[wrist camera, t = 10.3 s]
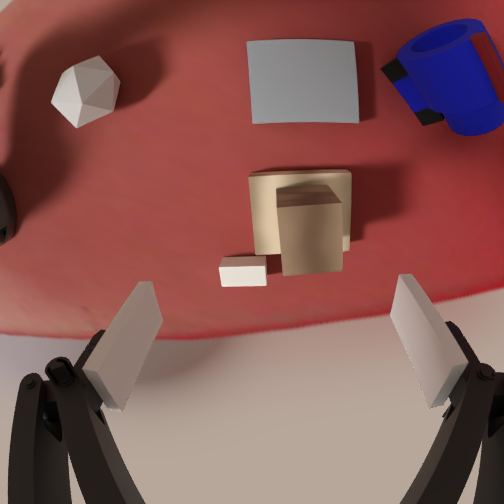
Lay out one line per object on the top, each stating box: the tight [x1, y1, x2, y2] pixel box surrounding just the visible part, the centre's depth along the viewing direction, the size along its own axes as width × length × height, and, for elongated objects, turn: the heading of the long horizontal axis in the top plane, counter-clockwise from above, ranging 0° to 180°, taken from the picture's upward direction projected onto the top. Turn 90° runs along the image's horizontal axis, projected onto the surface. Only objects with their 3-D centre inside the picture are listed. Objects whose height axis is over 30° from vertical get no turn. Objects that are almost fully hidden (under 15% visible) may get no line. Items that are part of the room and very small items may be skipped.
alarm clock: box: [381, 19, 504, 136], centre depth 20 cm, size 12×12×15 cm
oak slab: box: [248, 169, 352, 255], centre depth 36 cm, size 12×10×3 cm
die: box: [51, 56, 121, 128], centre depth 28 cm, size 8×9×10 cm
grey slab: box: [247, 39, 359, 124], centre depth 29 cm, size 12×10×3 cm
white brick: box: [219, 256, 267, 287], centre depth 40 cm, size 6×3×3 cm, turn 95°
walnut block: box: [276, 185, 343, 276], centre depth 31 cm, size 6×7×8 cm
